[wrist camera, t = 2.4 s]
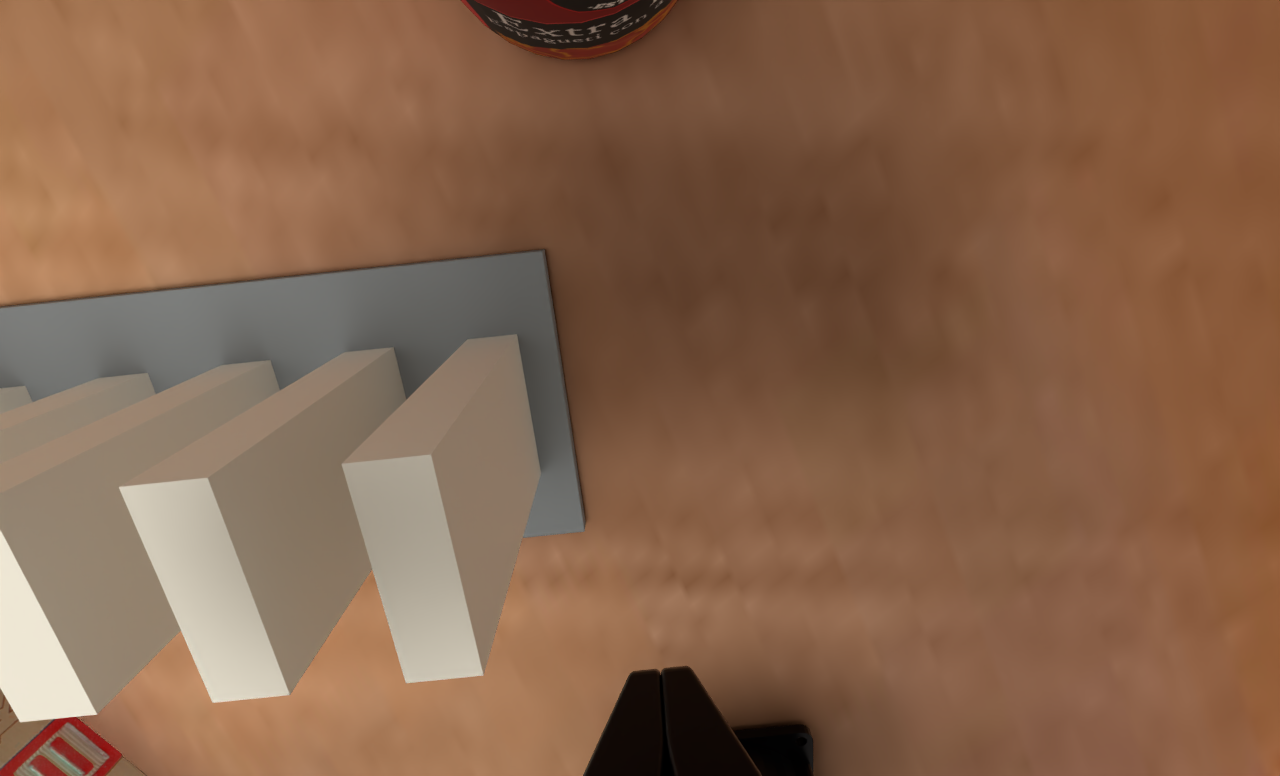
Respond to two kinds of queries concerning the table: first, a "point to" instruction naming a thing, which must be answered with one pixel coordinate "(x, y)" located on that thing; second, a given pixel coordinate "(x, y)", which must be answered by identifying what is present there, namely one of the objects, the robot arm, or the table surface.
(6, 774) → the stack of blocks
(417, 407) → the domino
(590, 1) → the canned food
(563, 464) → the mat
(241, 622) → the domino
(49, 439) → the domino
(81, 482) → the domino
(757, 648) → the table surface
